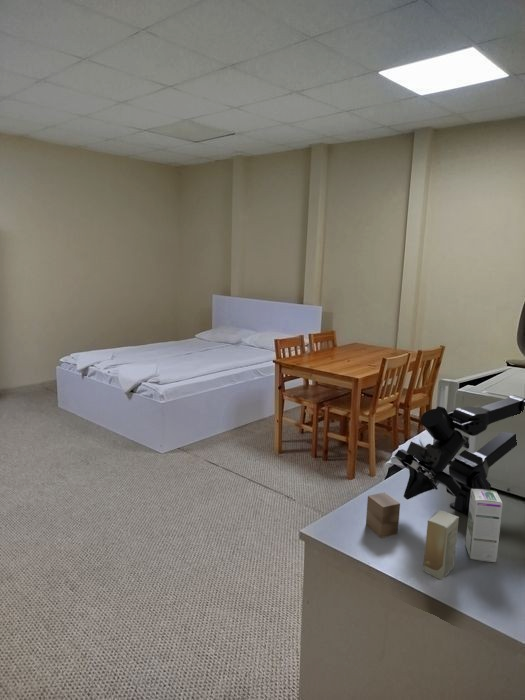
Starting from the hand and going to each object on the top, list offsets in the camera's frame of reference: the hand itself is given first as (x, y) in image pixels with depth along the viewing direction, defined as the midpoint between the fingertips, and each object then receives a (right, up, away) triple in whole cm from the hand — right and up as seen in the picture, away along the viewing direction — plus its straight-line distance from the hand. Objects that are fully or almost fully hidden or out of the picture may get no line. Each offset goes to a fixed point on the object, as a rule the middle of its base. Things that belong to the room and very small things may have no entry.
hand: (405, 498), depth 121 cm
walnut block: (-6, -7, -1) cm, 10 cm away
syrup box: (+14, -10, -10) cm, 20 cm away
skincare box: (+2, -11, -16) cm, 20 cm away
